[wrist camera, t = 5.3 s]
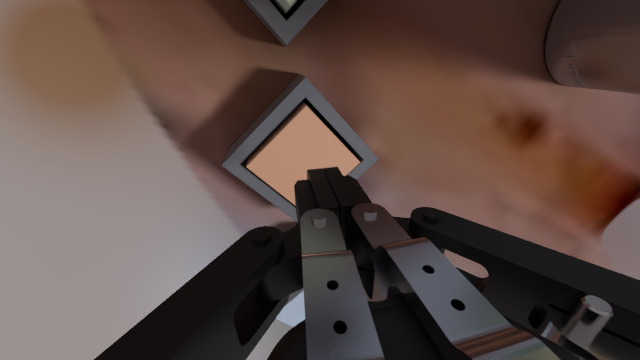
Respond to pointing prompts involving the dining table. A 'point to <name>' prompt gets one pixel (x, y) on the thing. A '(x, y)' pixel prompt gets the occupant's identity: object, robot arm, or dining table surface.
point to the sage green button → (285, 4)
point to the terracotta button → (298, 151)
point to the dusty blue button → (293, 309)
